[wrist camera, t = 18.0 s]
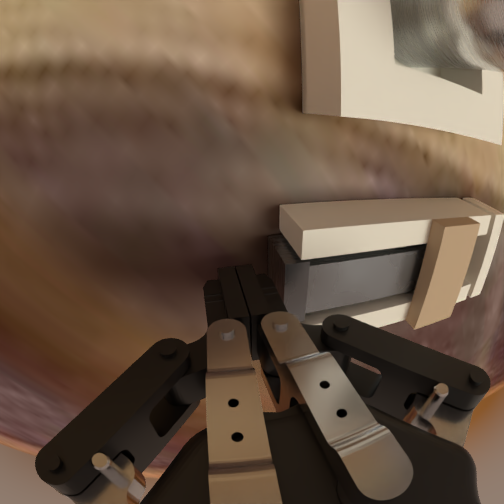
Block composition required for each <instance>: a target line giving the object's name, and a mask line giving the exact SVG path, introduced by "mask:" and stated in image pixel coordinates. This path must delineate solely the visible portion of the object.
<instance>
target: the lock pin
mask: <svg viewBox="0 0 504 504" xmlns="http://www.w3.org/2000/svg"><path fill="white" fill-rule="evenodd" d="M426 246H427V243H425V244H418V245H411V246H404V247H396V248H389V249H382V250H375V251H367V252H360V253H352V254H345V255H337V256H329V257H322V258H314V259H306V260H301V259H300V257H299V256H298V255H297V253H296V252H295V250H294V249H293V248H292V246H291V245H290V244H289V242H288V241H287V239H286V238H285V237H284V235H283V234H282V235H272V236H268V277H269V278H271V279H272V280H273V283H274V285H275V288H276V289H277V291H278V293H279V295H280V297H281V299H282V301H283V303H284V305H285V307H286V309H287V311H288V313H290V314H293V315H294V316H296V317H297V319H298V320H299V321H300V322H301V321H304V320H305V313H310V312H315V311H320V310H326V309H331V308H336V307H341V306H346V305H351V304H356V303H360V302H365V301H370V300H374V299H379V298H383V297H387V296H392V295H396V294H400V293H404V292H408V291H412V290H415V288H416V284H417V281H418V277H419V274H420V270H421V266H422V263H423V259H424V255H425V251H426Z"/></svg>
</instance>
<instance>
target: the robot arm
mask: <svg viewBox="0 0 504 504" xmlns="http://www.w3.org/2000/svg"><path fill="white" fill-rule="evenodd" d="M203 290H204V299H205V307H206V315H207V323H208V329H207V332H206V333H205V335H204V336H203V337H202V338H200V339H199V340H197V341H195V342H193V343H190V344H186V343H185V342H183V341H182V340H179V339H175V338H168V339H163V340H160V341H158V342H156V343H155V344H154V345H153V346H152V347H151V348H149V349H148V350H147V351H146V352H145V353H144V354H143V355H142V356H141V357H140V358H139V359H138V360H137V361H135V362H134V363H133V364H132V365H131V366H130V367H129V368H128V369H127V370H126V371H125V372H124V373H123V374H122V375H120V376H119V377H118V378H117V379H116V380H115V381H114V382H113V383H112V384H111V385H110V386H109V387H108V388H107V389H105V390H104V391H103V392H102V393H101V394H100V395H99V396H98V397H97V398H96V399H95V400H94V401H93V402H92V403H90V404H89V405H88V406H87V407H86V408H85V409H84V410H83V411H82V412H81V413H80V414H79V415H78V416H77V417H75V418H74V419H73V420H72V421H71V422H70V423H69V424H68V425H67V426H66V427H65V428H64V429H63V430H61V431H60V432H59V433H58V434H57V435H56V436H55V437H54V438H53V439H52V440H51V441H50V442H49V443H48V444H46V445H45V446H44V447H43V448H42V449H41V450H40V451H39V453H38V454H37V457H36V460H35V461H36V462H35V467H36V471H37V473H38V475H39V477H40V478H41V479H42V480H43V481H44V482H46V483H47V484H49V485H50V486H52V487H53V488H54V489H55V490H56V491H58V492H59V493H60V494H62V495H63V496H65V497H67V498H68V499H70V500H72V501H73V502H74V503H75V504H139V502H140V498H141V496H142V495H143V493H144V491H145V488H146V482H145V478H144V476H143V474H142V472H143V471H144V470H145V469H146V468H147V466H148V465H149V464H150V463H151V462H152V461H153V460H154V458H155V457H156V456H157V455H158V454H159V453H160V451H161V450H162V449H163V448H164V447H165V446H166V444H167V443H168V442H169V441H170V440H171V438H172V437H173V436H174V435H175V434H176V432H177V431H178V430H179V429H180V428H181V426H182V425H183V424H184V423H185V421H186V420H187V419H188V418H189V417H190V415H191V414H192V413H193V412H194V410H195V409H196V408H197V407H198V405H199V403H200V400H201V399H203V398H206V413H207V428H206V429H204V430H202V431H200V432H199V433H197V434H196V435H194V436H193V437H192V438H191V439H190V440H189V441H188V442H187V443H186V444H185V445H184V446H183V448H182V449H181V451H180V452H179V453H178V455H177V456H176V457H175V459H174V460H173V461H172V463H171V464H170V465H169V467H168V468H167V469H166V471H165V472H164V473H163V474H162V476H161V477H160V478H159V480H158V481H157V482H156V483H155V485H154V486H153V488H152V489H151V490H150V491H149V492H148V494H147V495H146V496H145V497H144V499H143V500H142V501H141V503H140V504H481V503H480V500H479V496H478V490H477V478H476V466H475V463H474V461H473V459H472V457H471V455H470V454H469V452H468V451H467V450H466V449H464V448H463V446H464V442H465V439H466V435H467V432H468V428H469V424H470V420H471V416H472V412H473V410H474V409H475V407H476V406H477V405H478V403H479V402H480V401H481V400H482V398H483V397H484V396H485V394H486V393H487V392H488V390H489V388H490V379H489V376H488V375H487V373H486V372H485V371H484V370H483V369H481V368H480V367H477V366H475V365H472V364H469V363H467V362H464V361H461V360H459V359H456V358H453V357H451V356H448V355H445V354H443V353H440V352H438V351H435V350H432V349H430V348H427V347H425V346H422V345H420V344H417V343H414V342H412V341H409V340H407V339H404V338H402V337H399V336H397V335H394V334H392V333H389V332H387V331H384V330H382V329H379V328H377V327H374V326H372V325H369V324H367V323H364V322H362V321H359V320H357V319H354V318H352V317H349V316H347V315H342V314H335V315H331V316H328V317H327V318H325V319H324V321H323V323H322V325H309V324H303V323H300V321H299V320H298V319H297V317H296V316H294V315H293V314H290V313H288V311H287V309H286V307H285V305H284V303H283V301H282V299H281V297H280V295H279V293H278V291H277V289H276V288H275V285H274V283H273V280H272V279H271V278H269V277H268V276H267V275H265V274H259V275H256V274H255V272H254V269H253V267H252V265H251V264H250V265H241V266H235V268H234V266H233V267H224V268H218V279H217V280H209V281H207V282H206V284H205V286H204V287H203ZM251 357H252V360H260V363H261V375H262V378H263V380H264V383H265V385H266V388H267V390H268V392H269V395H270V397H271V399H272V402H273V404H274V406H275V409H276V412H263V410H262V405H261V400H260V394H259V389H258V383H257V378H256V373H255V369H254V368H253V366H252V360H251ZM351 358H354V359H356V360H359V361H361V362H363V363H366V364H368V365H370V366H372V367H375V368H377V369H378V370H379V371H380V372H381V374H382V375H381V374H377V373H374V372H372V371H370V370H368V369H365V368H363V367H361V366H359V365H356V364H354V363H352V362H350V361H351Z"/></svg>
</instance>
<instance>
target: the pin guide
mask: <svg viewBox="0 0 504 504" xmlns="http://www.w3.org/2000/svg"><path fill="white" fill-rule="evenodd" d="M503 219H504V214H503V213H501V212H499V211H498V210H496V209H494V208H492V207H490V206H488V205H486V204H484V203H482V202H480V201H478V200H476V199H474V198H463V200H461V199H459V198H400V199H370V200H348V201H329V202H312V203H297V204H283V205H280V214H279V230H280V231H281V233H282V234H283V235H284V237H285V238H286V239H287V241H288V242H289V244H290V245H291V246H292V248H293V249H294V250H295V252H296V253H297V255H298V256H299V257H300V259H301V260H306V259H314V258H322V257H329V256H337V255H345V254H352V253H360V252H367V251H375V250H382V249H389V248H396V247H404V246H411V245H418V244H425V243H427V246H426V251H425V255H424V259H423V263H422V266H421V270H420V274H419V277H418V281H417V284H416V288H415V290H412V291H408V292H404V293H400V294H396V295H392V296H387V297H383V298H379V299H374V300H370V301H365V302H360V303H356V304H351V305H346V306H341V307H336V308H331V309H326V310H320V311H315V312H310V313H305V320H304V321H301V322H300V323H303V324H309V325H322V323H323V321H324V319H325V318H327V317H328V316H331V315H335V314H342V315H347V316H349V317H352V318H354V319H357V320H359V321H362V322H364V323H367V324H369V325H372V326H374V327H377V328H378V327H381V326H385V325H389V324H392V323H396V322H399V321H402V320H406V321H407V322H408V323H409V324H410V325H411V327H412V328H413V329H414V330H415V329H418V328H420V327H423V326H426V325H429V324H432V323H435V322H437V321H440V320H443V319H445V318H448V317H450V316H451V313H452V311H453V308H454V306H455V303H457V302H460V301H463V300H465V299H466V297H467V295H468V296H469V297H470V298H471V297H474V296H476V295H479V294H480V292H481V290H482V287H483V284H484V282H485V279H486V276H487V273H488V271H489V268H490V265H491V262H492V258H493V255H494V252H495V249H496V245H497V242H498V238H499V235H500V231H501V227H502V223H503Z"/></svg>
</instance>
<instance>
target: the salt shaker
mask: <svg viewBox="0 0 504 504" xmlns="http://www.w3.org/2000/svg"><path fill="white" fill-rule="evenodd" d="M390 5H391V14H392V25H393V39H394V58H395V59H396V60H398V61H399V62H400V63H402V64H404V65H406V66H408V67H412V68H461V69H476V70H487V71H497V72H504V0H390Z"/></svg>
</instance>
